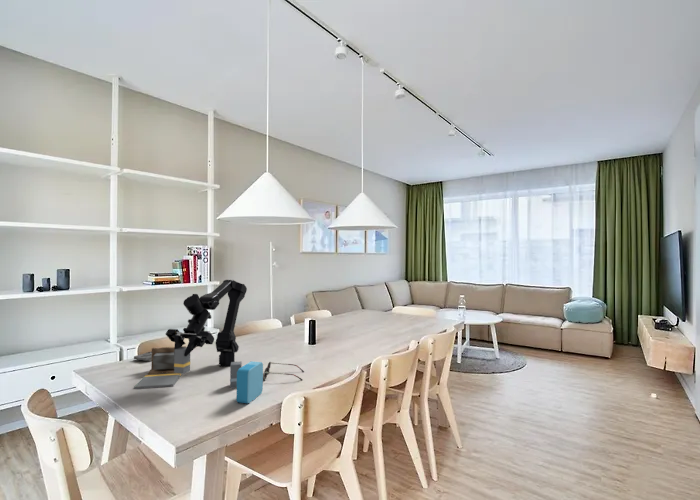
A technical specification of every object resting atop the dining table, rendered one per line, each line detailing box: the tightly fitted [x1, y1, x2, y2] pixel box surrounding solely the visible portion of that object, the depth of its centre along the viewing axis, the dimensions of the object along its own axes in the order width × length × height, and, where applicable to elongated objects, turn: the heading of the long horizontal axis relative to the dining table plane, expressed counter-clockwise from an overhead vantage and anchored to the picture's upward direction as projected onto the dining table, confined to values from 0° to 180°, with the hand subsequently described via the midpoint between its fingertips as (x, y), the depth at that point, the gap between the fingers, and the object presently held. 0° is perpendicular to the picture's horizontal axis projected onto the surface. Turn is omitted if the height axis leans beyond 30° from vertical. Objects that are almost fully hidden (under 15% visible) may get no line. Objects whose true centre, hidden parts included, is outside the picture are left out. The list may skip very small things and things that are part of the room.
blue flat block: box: [235, 361, 264, 404], centre depth 135 cm, size 12×4×12 cm, turn 168°
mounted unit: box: [147, 345, 187, 375], centre depth 165 cm, size 14×7×10 cm, turn 103°
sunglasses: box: [263, 361, 305, 381], centre depth 160 cm, size 14×16×5 cm
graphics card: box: [133, 346, 159, 362], centre depth 186 cm, size 17×4×12 cm
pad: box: [133, 373, 182, 390], centre depth 151 cm, size 14×14×1 cm
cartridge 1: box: [173, 346, 191, 375], centre depth 143 cm, size 4×4×9 cm
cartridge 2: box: [229, 361, 243, 389], centre depth 147 cm, size 4×4×9 cm
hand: (180, 355), depth 142 cm, fingers closed on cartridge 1, 4 cm apart
